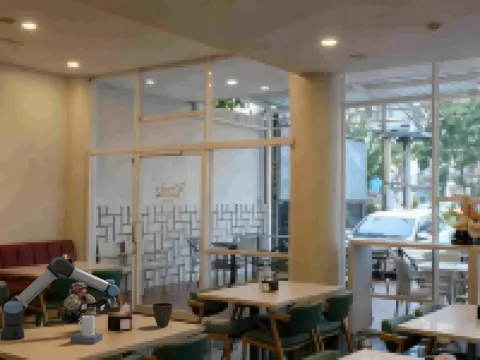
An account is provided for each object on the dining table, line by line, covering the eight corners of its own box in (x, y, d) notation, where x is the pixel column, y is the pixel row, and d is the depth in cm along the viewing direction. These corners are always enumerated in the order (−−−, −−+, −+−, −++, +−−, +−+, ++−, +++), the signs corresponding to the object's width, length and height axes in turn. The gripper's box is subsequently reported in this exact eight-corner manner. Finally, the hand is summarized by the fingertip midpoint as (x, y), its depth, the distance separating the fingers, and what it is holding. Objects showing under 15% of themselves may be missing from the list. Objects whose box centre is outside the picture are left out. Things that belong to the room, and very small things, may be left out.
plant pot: (165, 329, 423) (165, 306, 424) (148, 327, 430) (148, 305, 431) (176, 325, 437) (176, 303, 438) (159, 323, 443) (159, 302, 444)
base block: (70, 343, 376) (70, 336, 376) (79, 338, 390) (79, 332, 390) (94, 344, 374) (94, 337, 374) (102, 339, 388) (102, 333, 388)
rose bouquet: (61, 325, 432) (62, 284, 434) (61, 318, 460) (62, 280, 461) (96, 324, 439) (97, 284, 441) (95, 317, 467) (95, 279, 469)
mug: (80, 337, 375) (80, 318, 375) (74, 335, 381) (74, 316, 382) (97, 335, 382) (97, 316, 383) (91, 332, 389) (91, 314, 389)
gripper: (120, 309, 416) (108, 314, 395) (86, 307, 420) (74, 312, 399) (120, 298, 416) (109, 303, 395) (87, 297, 420) (74, 301, 399)
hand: (91, 307), depth 397 cm, fingers open, 13 cm apart
